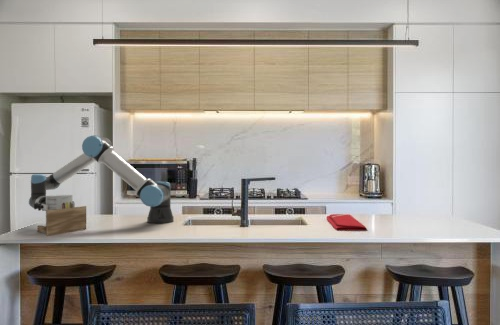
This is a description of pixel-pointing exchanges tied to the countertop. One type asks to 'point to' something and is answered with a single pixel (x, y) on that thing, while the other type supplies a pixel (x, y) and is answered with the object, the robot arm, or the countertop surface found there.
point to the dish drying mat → (345, 223)
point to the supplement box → (58, 202)
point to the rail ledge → (64, 220)
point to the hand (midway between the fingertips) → (60, 206)
